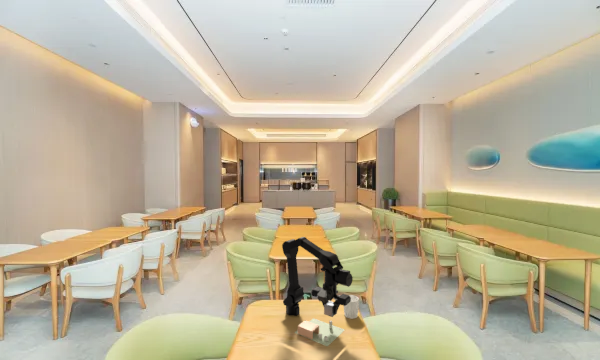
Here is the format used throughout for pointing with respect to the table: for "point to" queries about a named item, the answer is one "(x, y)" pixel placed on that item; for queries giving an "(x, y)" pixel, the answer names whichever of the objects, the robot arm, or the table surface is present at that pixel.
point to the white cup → (352, 307)
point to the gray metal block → (329, 309)
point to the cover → (308, 329)
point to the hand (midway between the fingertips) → (330, 313)
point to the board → (325, 332)
